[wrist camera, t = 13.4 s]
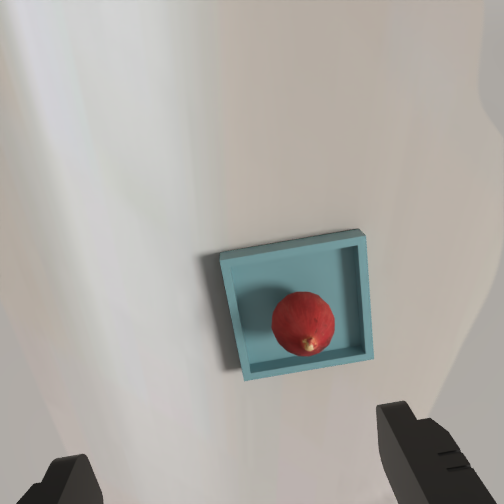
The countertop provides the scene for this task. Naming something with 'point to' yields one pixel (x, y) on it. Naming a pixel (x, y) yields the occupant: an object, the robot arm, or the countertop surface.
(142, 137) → the countertop surface
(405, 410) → the robot arm
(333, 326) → the onion
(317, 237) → the tray
